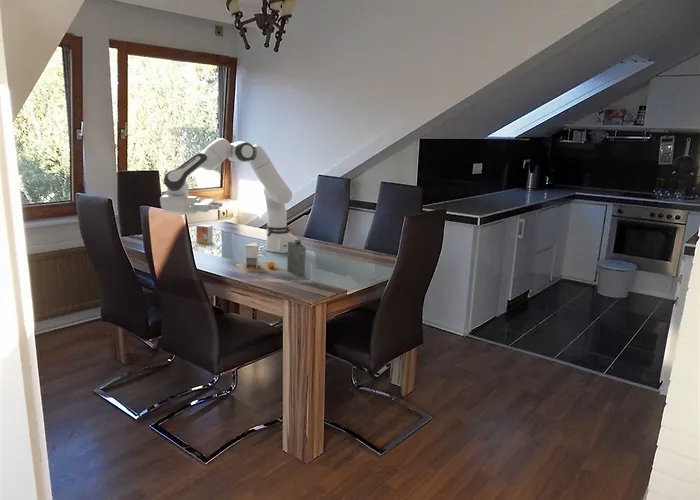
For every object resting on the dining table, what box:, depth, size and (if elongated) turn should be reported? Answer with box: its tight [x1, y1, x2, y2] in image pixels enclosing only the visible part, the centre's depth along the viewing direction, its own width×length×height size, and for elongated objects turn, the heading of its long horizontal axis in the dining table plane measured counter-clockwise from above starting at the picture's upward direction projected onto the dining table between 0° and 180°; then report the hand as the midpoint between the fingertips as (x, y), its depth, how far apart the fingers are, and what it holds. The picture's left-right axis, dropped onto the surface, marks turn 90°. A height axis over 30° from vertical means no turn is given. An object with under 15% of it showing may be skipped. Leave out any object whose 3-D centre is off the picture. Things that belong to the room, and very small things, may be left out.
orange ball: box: [267, 260, 276, 268], centre depth 274 cm, size 4×4×4 cm
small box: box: [195, 224, 214, 245], centre depth 328 cm, size 8×6×10 cm
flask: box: [286, 239, 306, 278], centre depth 264 cm, size 4×14×18 cm, turn 35°
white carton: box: [245, 242, 260, 267], centre depth 275 cm, size 6×6×11 cm
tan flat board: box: [234, 261, 285, 274], centre depth 275 cm, size 20×18×1 cm
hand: (220, 206), depth 276 cm, fingers open, 8 cm apart
